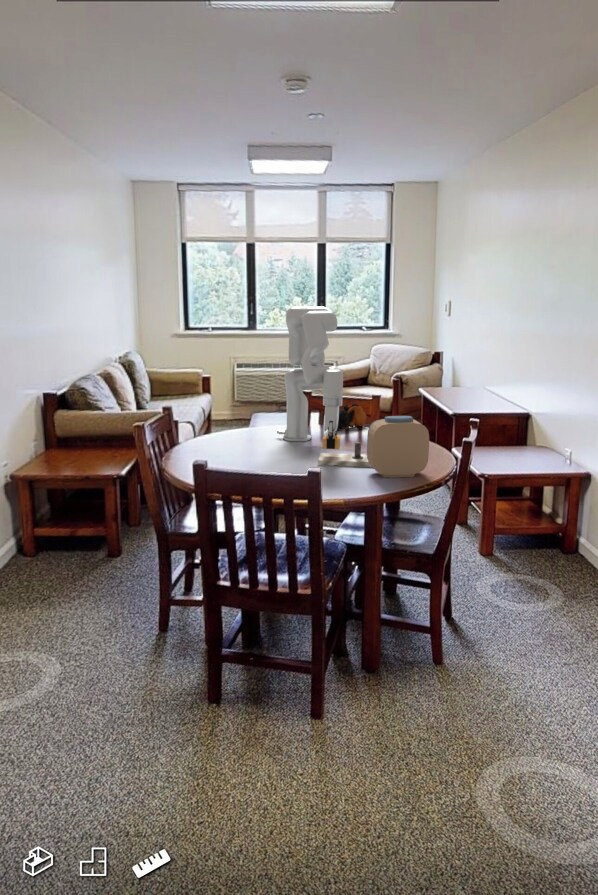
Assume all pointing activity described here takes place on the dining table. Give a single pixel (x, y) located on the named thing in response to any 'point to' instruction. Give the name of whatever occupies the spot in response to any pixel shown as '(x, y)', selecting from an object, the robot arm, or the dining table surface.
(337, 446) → the orange square frame
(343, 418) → the tool
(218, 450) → the dining table surface
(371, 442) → the alarm clock
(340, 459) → the peg board
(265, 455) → the dining table surface
